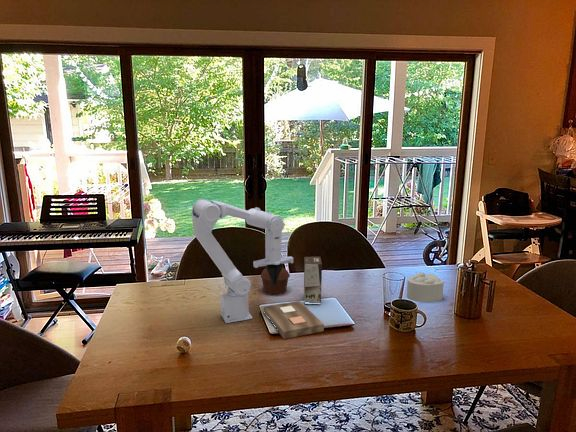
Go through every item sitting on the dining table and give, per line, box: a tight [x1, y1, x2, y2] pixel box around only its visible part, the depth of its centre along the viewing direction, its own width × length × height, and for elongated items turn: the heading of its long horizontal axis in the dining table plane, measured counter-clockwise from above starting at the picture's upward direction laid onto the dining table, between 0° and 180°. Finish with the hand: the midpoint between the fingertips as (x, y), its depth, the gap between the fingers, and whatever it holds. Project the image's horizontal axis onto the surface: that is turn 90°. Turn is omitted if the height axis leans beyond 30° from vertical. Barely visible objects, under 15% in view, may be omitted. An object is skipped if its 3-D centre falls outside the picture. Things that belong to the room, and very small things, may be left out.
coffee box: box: [303, 256, 323, 304], centre depth 170 cm, size 9×6×16 cm
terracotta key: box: [289, 316, 306, 325], centre depth 149 cm, size 4×4×2 cm
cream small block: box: [279, 306, 296, 314], centre depth 157 cm, size 4×4×2 cm
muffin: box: [260, 266, 291, 296], centre depth 179 cm, size 12×11×10 cm
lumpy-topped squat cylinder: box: [406, 271, 445, 303], centre depth 173 cm, size 10×13×9 cm
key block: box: [263, 300, 325, 340], centre depth 153 cm, size 14×20×2 cm
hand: (273, 283), depth 163 cm, fingers closed
